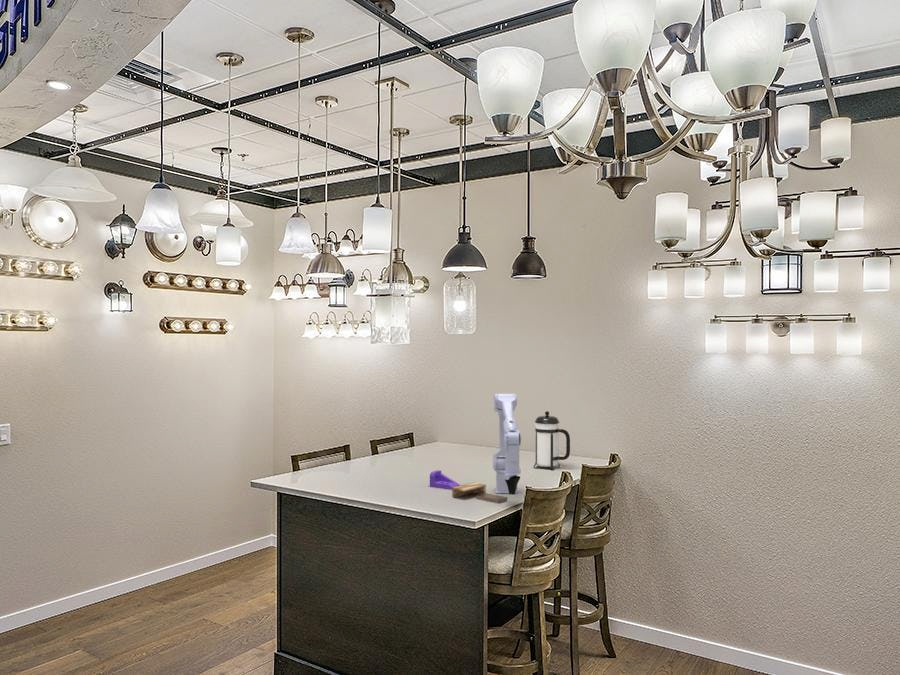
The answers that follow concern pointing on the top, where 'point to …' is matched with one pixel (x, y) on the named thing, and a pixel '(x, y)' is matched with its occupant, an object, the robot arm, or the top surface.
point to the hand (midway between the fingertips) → (512, 494)
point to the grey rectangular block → (491, 498)
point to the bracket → (441, 481)
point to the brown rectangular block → (468, 489)
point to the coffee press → (549, 441)
